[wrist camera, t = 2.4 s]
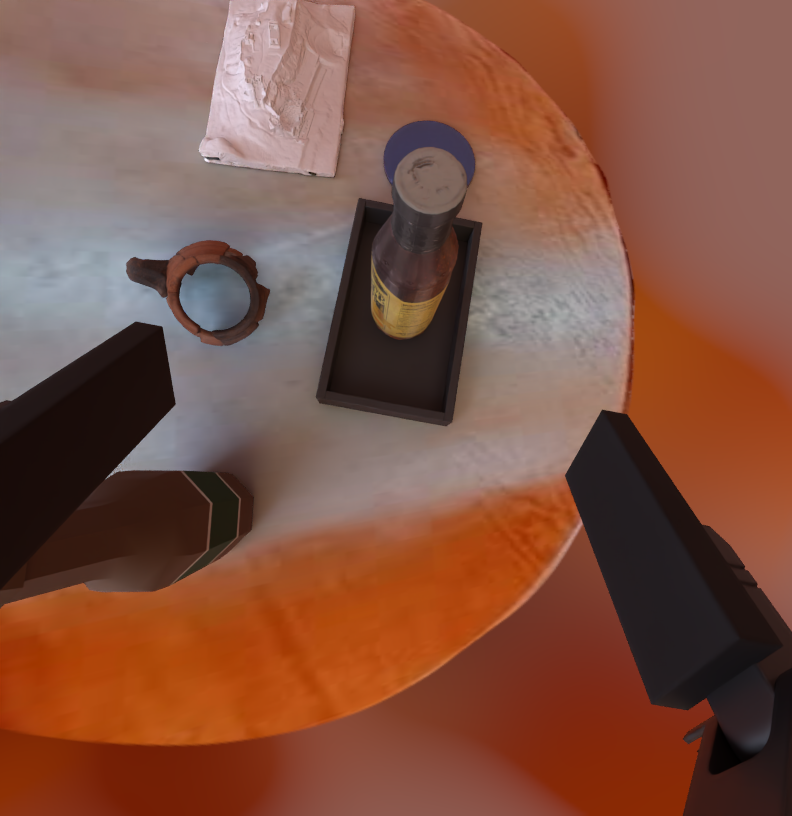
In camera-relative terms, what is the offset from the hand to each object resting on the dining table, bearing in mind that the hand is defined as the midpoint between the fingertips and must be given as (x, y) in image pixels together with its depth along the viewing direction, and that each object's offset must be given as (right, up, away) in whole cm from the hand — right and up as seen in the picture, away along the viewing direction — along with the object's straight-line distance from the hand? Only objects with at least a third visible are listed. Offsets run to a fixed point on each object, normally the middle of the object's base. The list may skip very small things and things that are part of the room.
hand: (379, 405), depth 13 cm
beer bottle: (-16, -10, +25) cm, 31 cm away
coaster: (+4, +27, +32) cm, 42 cm away
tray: (+1, +9, +29) cm, 30 cm away
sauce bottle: (+1, +9, +29) cm, 30 cm away
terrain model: (-12, +36, +33) cm, 50 cm away
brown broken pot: (-17, +11, +28) cm, 35 cm away
